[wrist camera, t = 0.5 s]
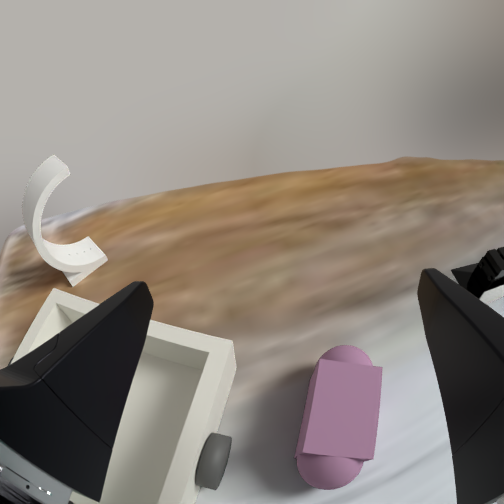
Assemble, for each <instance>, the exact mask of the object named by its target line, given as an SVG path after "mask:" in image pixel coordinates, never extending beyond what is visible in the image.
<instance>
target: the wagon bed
mask: <svg viewBox="0 0 504 504" xmlns="http://www.w3.org/2000/svg"><path fill="white" fill-rule="evenodd" d="M98 305H99V304H98V303H95V302H92V301H89V300H86V299H83V298H80V297H77V296H74V295H72V294H69V293H66V292H63V291H61V290H58V289H55V288H53V290H52V291H51V293H50V295H49V296H48V298H47V299H46V301H45V303H44V304H43V306H42V308H41V309H40V311H39V313H38V314H37V316H36V318H35V319H34V321H33V323H32V325H31V326H30V328H29V330H28V332H27V334H26V335H25V337H24V339H23V341H22V343H21V345H20V346H19V348H18V350H17V352H16V354H15V356H14V357H13V358H12V359H11V361H10V362H9V364H8V366H9V365H10V364H12V363H14V362H15V361H17V360H18V359H20V358H22V357H23V356H25V355H26V354H28V353H29V352H31V351H33V350H34V349H36V348H37V347H39V346H40V345H42V344H43V343H45V342H46V341H48V340H49V339H51V338H52V337H53V336H55V335H56V334H58V333H60V331H62V330H63V329H65V328H66V327H68V326H69V325H70V324H72V323H73V322H75V321H76V320H78V319H79V318H81V317H82V316H83V315H85V314H86V313H88V312H89V311H91V310H92V309H94V308H95V307H97V306H98ZM236 369H237V368H236V361H235V354H234V348H233V341H232V340H227V339H223V338H219V337H214V336H210V335H206V334H202V333H198V332H194V331H190V330H186V329H182V328H179V327H175V326H171V325H167V324H164V323H160V322H157V321H153V320H150V323H149V327H148V332H147V336H146V340H145V344H144V347H143V350H142V353H141V356H140V359H139V362H138V366H137V369H136V372H135V375H134V378H133V381H132V384H131V388H130V391H129V394H128V397H127V401H126V404H125V407H124V411H123V414H122V418H121V421H120V425H119V428H118V432H117V435H116V439H115V443H114V446H113V449H112V450H113V451H112V455H111V458H110V462H109V466H108V470H107V474H106V479H105V483H104V487H103V491H102V496H101V500H100V502H96V501H94V500H92V499H89V498H87V497H85V496H82V495H80V494H78V493H76V492H74V491H72V494H71V497H70V499H69V500H70V501H72V502H73V503H75V504H195V502H196V499H197V496H198V493H199V489H200V486H202V487H206V488H209V489H213V490H216V489H217V488H218V486H219V484H220V482H221V479H222V477H223V474H224V471H225V468H226V465H227V461H228V457H229V453H230V449H231V442H232V438H231V437H229V436H225V435H221V434H217V432H218V429H219V425H220V422H221V419H222V415H223V412H224V409H225V406H226V402H227V399H228V396H229V392H230V389H231V386H232V382H233V379H234V375H235V372H236Z"/></svg>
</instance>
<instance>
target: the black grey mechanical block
mask: <svg viewBox="0 0 504 504" xmlns="http://www.w3.org/2000/svg"><path fill="white" fill-rule="evenodd" d="M451 271H452V273H453V275H454V276H455V278H456V280H457V281H458V283H459V285H460V286H461V287H463V288H464V289H466V290H467V291H468V292H470V293H471V294H473V295H474V296H475V297H477V298H478V299H480V300H481V301H482V302H484V303H485V304H488V303H491V302H493V301H495V300H497V299H500V298H502V297H504V247H501V248H498V249H497V250H496V249H493V250H489V251H487V253H486V255H485V256H484V257H482V259H481V260H480V262H479V263H476V264H472V265H468V266H464V267H460V268H456V269H452V270H451Z"/></svg>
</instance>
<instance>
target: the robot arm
mask: <svg viewBox="0 0 504 504" xmlns="http://www.w3.org/2000/svg"><path fill="white" fill-rule="evenodd" d="M417 294H418V300H419V305H420V310H421V315H422V320H423V325H424V330H425V335H426V339H427V343H428V347H429V350H430V354H431V357H432V361H433V365H434V368H435V372H436V376H437V380H438V384H439V389H440V393H441V397H442V402H443V407H444V411H445V416H446V421H447V427H448V432H449V438H450V444H451V451H452V455H453V456H452V459H453V466H454V475H455V484H456V496H457V504H492V503H494V502H497V504H504V317H502V316H501V315H500V314H498V313H497V312H496V311H494V310H493V309H492V308H490V307H489V306H488V305H486V304H485V303H484V302H482V301H481V300H480V299H478V298H477V297H475V296H474V295H473V294H471V293H470V292H468V291H467V290H466V289H464V288H463V287H461V286H460V285H458V284H457V283H456V282H454V281H453V280H451V279H450V278H448V277H447V276H445V275H444V274H442V273H441V272H440V271H438V270H437V269H435V268H429V269H423V270H422V272H421V277H420V282H419V286H418V292H417ZM152 310H153V299H152V296H151V294H150V291H149V289H148V286H147V284H146V283H145V282H143V281H135V282H132V283H131V284H129V285H128V286H126V287H125V288H123V289H122V290H120V291H119V292H117V293H116V294H114V295H113V296H111V297H110V298H108V299H107V300H105V301H104V302H102V303H101V304H99V305H98V306H97V307H95V308H94V309H92V310H91V311H89V312H88V313H86V314H85V315H83V316H82V317H81V318H79V319H78V320H76V321H75V322H73V323H72V324H70V325H69V326H68V327H66V328H65V329H63V330H62V331H60V333H58V334H56V335H55V336H53V337H52V338H51V339H49V340H48V341H46V342H45V343H43V344H42V345H40V346H39V347H37V348H36V349H34V350H33V351H31V352H29V353H28V354H26V355H25V356H23V357H22V358H20V359H18V360H17V361H15V362H14V363H12V364H10V365H9V366H7V367H5V368H3V369H1V370H0V504H73V502H72V501H70V500H69V499H70V497H71V494H72V491H74V492H76V493H78V494H80V495H82V496H85V497H87V498H89V499H92V500H94V501H96V502H100V500H101V496H102V491H103V487H104V483H105V479H106V474H107V470H108V466H109V462H110V458H111V455H112V451H113V450H112V449H113V446H114V443H115V439H116V435H117V432H118V428H119V425H120V421H121V418H122V414H123V411H124V407H125V404H126V401H127V397H128V394H129V391H130V388H131V384H132V381H133V378H134V375H135V372H136V369H137V366H138V362H139V359H140V356H141V353H142V350H143V347H144V344H145V340H146V336H147V332H148V327H149V323H150V319H151V314H152Z"/></svg>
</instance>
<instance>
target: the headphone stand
mask: <svg viewBox="0 0 504 504" xmlns="http://www.w3.org/2000/svg"><path fill="white" fill-rule="evenodd" d="M69 175H70V172H69V169H68V167H67V166H66V165H65V164H64V163H63V162H62V161H61V160H60V159H58V158H57V157H56V156H55V155H52V156H51V157H49V158H48V159H47V160H45V161H44V162H43V163H42V164H41V165H40V166H39V167H38V169H37V170H36V171H35V172H34V174H33V175H32V177H31V179H30V181H29V183H28V185H27V187H26V190H25V193H24V197H23V204H22V214H23V220H24V224H25V227H26V229H27V231H28V233H29V235H30V237H31V239H32V241H33V243H34V244H35V246H36V248H37V250H38V252H39V254H40V255H41V256H42V258H43V259H44V260H45V261H46V262H47V263H48V264H49V265H51V266H52V267H54V268H56V269H58V270H61V271H62V272H63V273H64V275H65V276H66V278H67V279H68V281H69V282H70V283H71V285H72V286H73V287H74V286H75V285H76V284H77V283H79V282H80V281H81V280H83V279H84V278H85V277H86V276H88V275H89V274H90V273H92V272H93V271H94V270H96V269H97V268H98V267H100V266H101V265H102V264H103V263H105V262H106V261H107V260H108V259H107V257H106V255H105V254H104V253H103V252H102V251H101V250H100V249H99V248H98V246H97V245H96V244H95V243H94V242H93V241H92V240H91V239H90V238H89V237H86V238H85V239H83V240H81V241H79V242H76V243H73V244H68V245H57V244H53V243H50V242H48V241H46V240H44V239H43V238H42V236H41V217H42V212H43V209H44V206H45V204H46V201H47V199H48V198H49V196H50V194H51V193H52V191H53V190H54V189H55V187H56V186H57V185H58V184H59V183H60V182H61V181H62V180H64V179H65V178H66V177H68V176H69Z"/></svg>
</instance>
